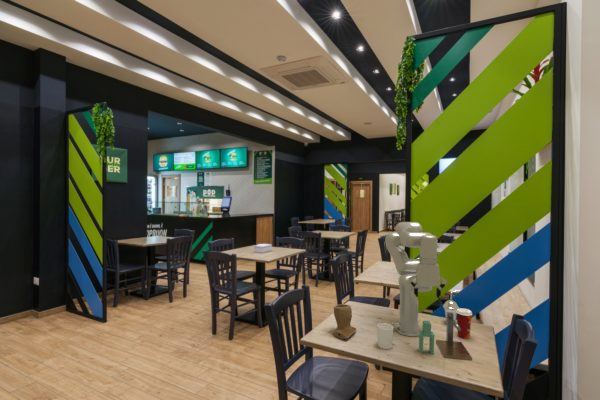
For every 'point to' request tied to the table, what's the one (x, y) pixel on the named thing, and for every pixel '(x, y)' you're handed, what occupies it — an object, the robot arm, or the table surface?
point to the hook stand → (452, 342)
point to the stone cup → (343, 321)
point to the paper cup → (464, 322)
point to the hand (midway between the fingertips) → (427, 296)
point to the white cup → (385, 335)
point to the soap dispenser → (451, 306)
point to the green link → (426, 333)
